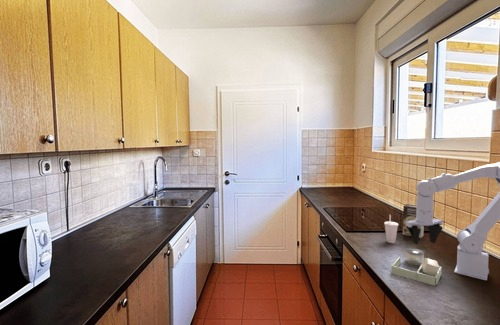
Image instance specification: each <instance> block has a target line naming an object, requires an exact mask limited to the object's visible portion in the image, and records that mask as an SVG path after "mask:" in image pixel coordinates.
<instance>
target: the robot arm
mask: <svg viewBox="0 0 500 325" xmlns="http://www.w3.org/2000/svg"><path fill="white" fill-rule="evenodd" d="M480 178H488V179H494V180H495V181H496V182H497V184H498V186H499V187H498V188H500V161H498V162H495V163H488V164H485V165H484V164H483V165H481V166H478V167H476V168H472V169H470V170H466V171H464V172H460V173H458V174H457V173H456V174H451V173H444V172H443V173H441V174H440V175H439V176H436V177H435V176H434V177H428V178H427V180H425V179H423V180H420V181H418V183H417V184H416V186H415V189H416V191H417V194H416V205H417V207H416V220H412V221H406V226H407V228H408V230H409V232H410V234H411V236H410V237H411V241H412V244H414V245H419V241H420V240H419V239H420V238H419V234H420V231H421V229H419V228H418V227H417V226H424V227H425V226H426V227H427V229H428V234H429V241H430V243H433V244H436V241H437V239H438V236H439V234H440V233H441V232H442V231H443V225H444V224H443V220H442V219H439V218H434V194H435V193H440V192H443V191H447V190H450V189H454V188H456V187H457V185H458V184H460V183H464V182H468V181H471V180H478V179H480ZM499 221H500V191H498V193H497V194H496V195H495V196H494V198H492V200H491V201H490V202H489V203H488V204H487V206H486V207H485V208H484V209H483V211H482V212H480V214H479V215H478V216H477V217H476V219H475V220H474V221H473V222H472V223H470V224H468V225H467V226H466V227H465V228H464V229H461V230H460V231H458V233H457V235H456V239H457V241H458V242H459V244H458V245H457V249H456V250H457V253H456V254H457V255H456V266H455V268H454V273H455V274H458V275H463V276H468V277H471V278H475V279H479V280H483V281H488V276H489V274H490V269H489V253H487V252H484V251H483V249H484V246H485V245H484V244H485V242H486V241H487V239H488V233H489V232H490V231H491V230H492V229H493V227H494V226H496V224H497V223H498V222H499Z"/></svg>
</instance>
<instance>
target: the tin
mask: <svg viewBox="0 0 500 325" xmlns="http://www.w3.org/2000/svg"><path fill="white" fill-rule="evenodd" d="M424 258H425V253H424V251H423V250H420V249H417V248H406V249H405V263H407V264H408V265H411V266H415V267H420V266H421V265H422V263H423V261H424Z"/></svg>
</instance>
